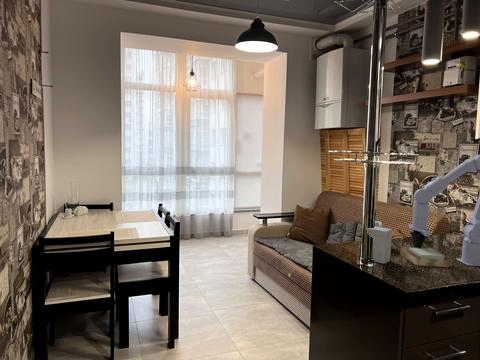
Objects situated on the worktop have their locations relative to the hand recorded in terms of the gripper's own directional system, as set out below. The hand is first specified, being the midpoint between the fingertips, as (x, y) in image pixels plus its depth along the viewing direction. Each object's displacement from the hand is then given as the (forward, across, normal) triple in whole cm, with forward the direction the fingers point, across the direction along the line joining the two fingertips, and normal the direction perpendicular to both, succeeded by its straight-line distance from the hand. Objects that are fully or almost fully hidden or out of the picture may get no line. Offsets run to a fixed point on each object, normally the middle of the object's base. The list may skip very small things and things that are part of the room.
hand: (417, 249), depth 153 cm
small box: (+3, +8, -20) cm, 22 cm away
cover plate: (+1, +7, 0) cm, 7 cm away
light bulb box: (+3, -15, -13) cm, 20 cm away
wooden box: (+3, +6, 0) cm, 7 cm away
